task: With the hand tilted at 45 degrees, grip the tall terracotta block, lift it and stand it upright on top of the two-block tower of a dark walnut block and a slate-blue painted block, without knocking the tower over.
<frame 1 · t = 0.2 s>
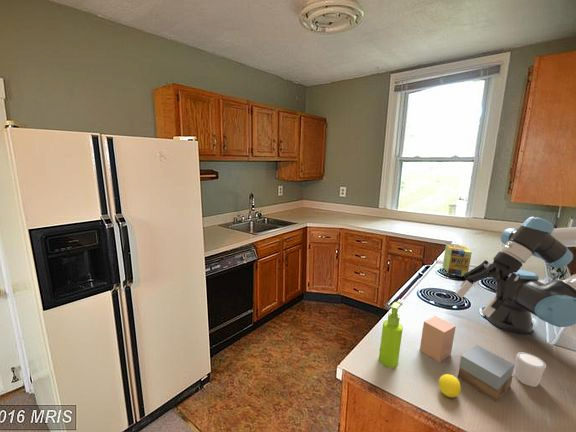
hand: (470, 304, 97), 16 cm above the worktop, tool tilted 35°, fingers open, 13 cm apart
lemon: (448, 393, 79), on the worktop
tower top block: (485, 371, 83), point 4 cm above the worktop, touching tower base block
protein box: (454, 271, 170), on the worktop
tower base block: (483, 383, 83), on the worktop, touching tower top block
terracotta block: (435, 352, 96), on the worktop
white cylinder: (526, 379, 85), on the worktop
soap dispenser: (388, 360, 91), on the worktop
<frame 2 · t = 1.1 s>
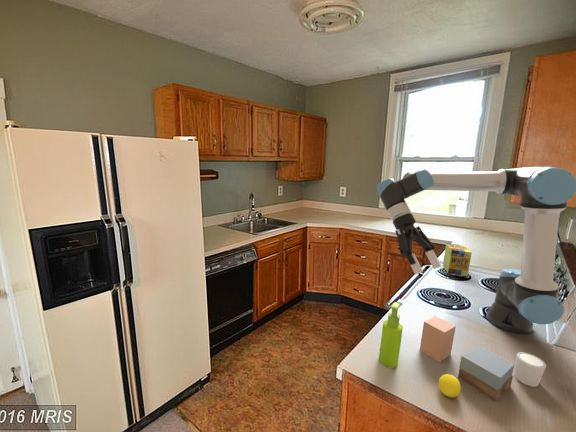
hand: (428, 270, 97), 27 cm above the worktop, tool tilted 40°, fingers open, 13 cm apart
nothing on the worktop moved.
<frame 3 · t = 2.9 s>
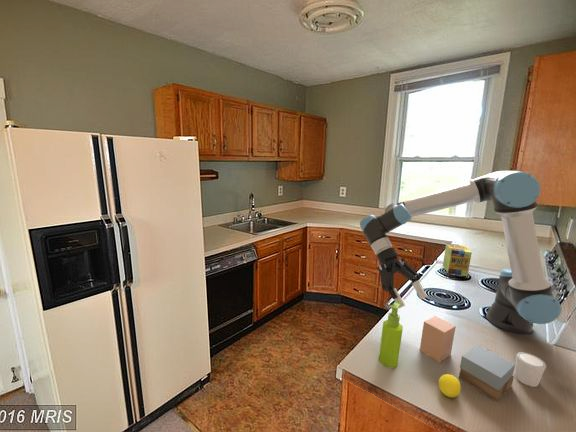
hand: (413, 302, 101), 14 cm above the worktop, tool tilted 45°, fingers open, 13 cm apart
nothing on the worktop moved.
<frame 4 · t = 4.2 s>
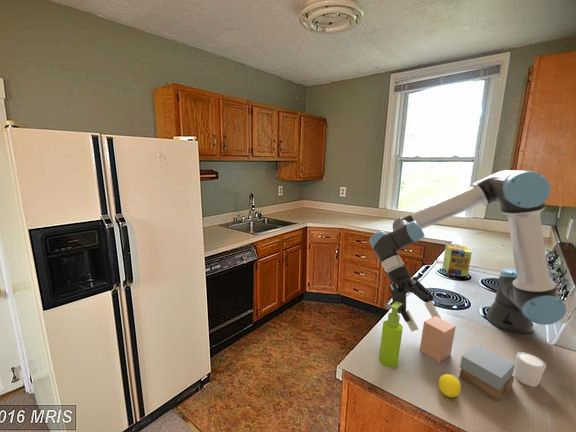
hand: (426, 324, 97), 9 cm above the worktop, tool tilted 45°, fingers open, 13 cm apart
nothing on the worktop moved.
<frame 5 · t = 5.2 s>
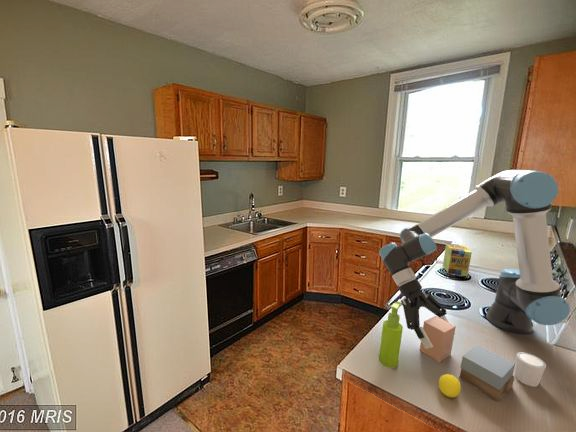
hand: (440, 341, 93), 5 cm above the worktop, tool tilted 45°, fingers open, 13 cm apart
nothing on the worktop moved.
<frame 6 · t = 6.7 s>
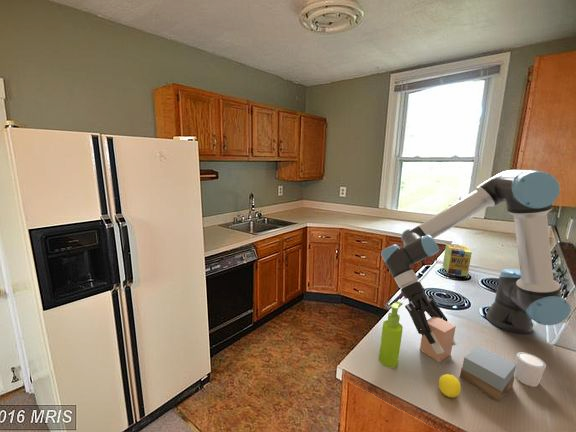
hand: (446, 349, 92), 4 cm above the worktop, tool tilted 45°, fingers closed on terracotta block, 7 cm apart
terracotta block: (435, 352, 96), on the worktop, touching gripper
everything else where it was.
when the fingers open (13 cm above the worktop, at t = 12.7 s): terracotta block drops 2 cm, resting on tower top block.
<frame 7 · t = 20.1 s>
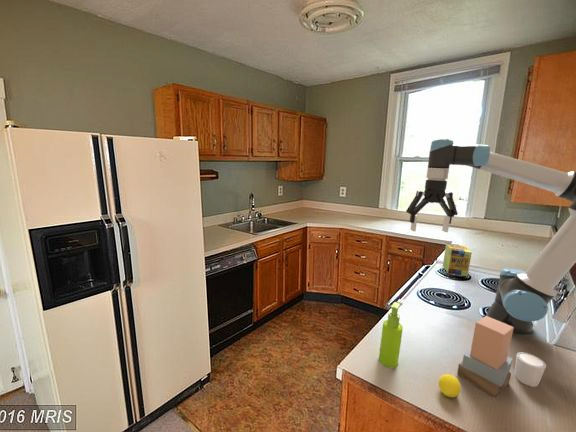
hand: (428, 231, 114), 37 cm above the worktop, tool pointing down, fingers open, 13 cm apart
tower top block: (485, 368, 84), point 4 cm above the worktop, touching terracotta block, tower base block
tower base block: (482, 379, 85), on the worktop, touching tower top block
terracotta block: (488, 357, 83), point 8 cm above the worktop, touching tower top block
everything else where it was.
at the end: terracotta block inside the target area on the tower top block (0.6 cm from its centre), point 4.0 cm above the tower top block's base; terracotta block tilted 1°; tower top block point 3.5 cm above the worktop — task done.
